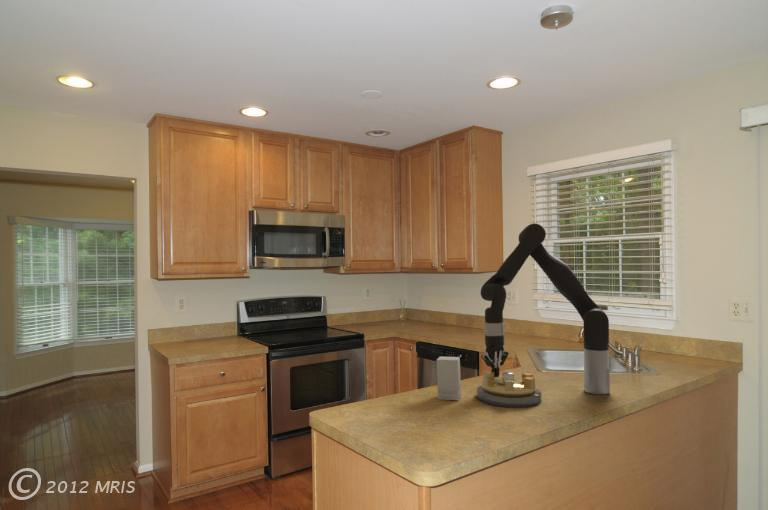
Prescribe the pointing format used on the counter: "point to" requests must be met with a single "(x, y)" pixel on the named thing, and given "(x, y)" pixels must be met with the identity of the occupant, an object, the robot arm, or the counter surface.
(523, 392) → the brass lugged disc
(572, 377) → the counter surface
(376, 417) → the counter surface
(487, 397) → the housing
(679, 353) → the counter surface
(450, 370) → the skincare box
